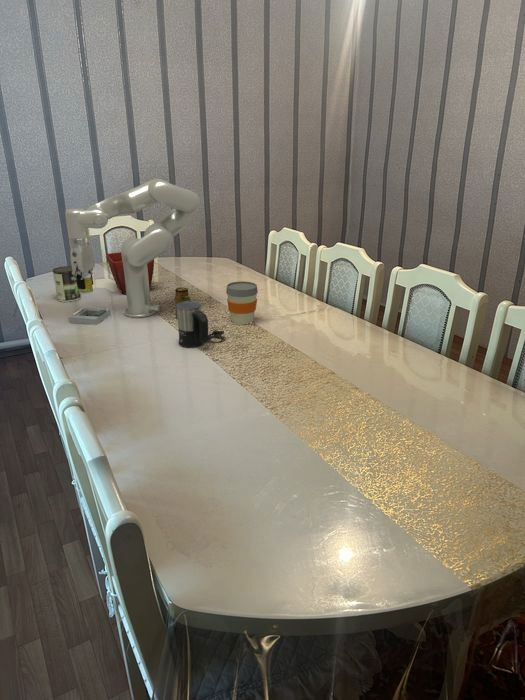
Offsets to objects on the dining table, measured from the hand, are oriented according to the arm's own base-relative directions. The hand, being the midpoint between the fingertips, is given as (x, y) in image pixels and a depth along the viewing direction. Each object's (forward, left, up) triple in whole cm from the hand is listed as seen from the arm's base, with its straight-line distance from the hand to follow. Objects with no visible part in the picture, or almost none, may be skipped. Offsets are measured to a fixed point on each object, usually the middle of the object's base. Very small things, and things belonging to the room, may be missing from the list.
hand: (85, 286), depth 208 cm
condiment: (-37, -10, -14) cm, 41 cm away
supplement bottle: (0, 0, -3) cm, 3 cm away
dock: (0, 0, -14) cm, 14 cm away
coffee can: (+23, -23, -14) cm, 35 cm away
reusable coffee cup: (-62, -10, -14) cm, 64 cm away
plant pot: (0, -42, -14) cm, 44 cm away
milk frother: (-52, +14, -14) cm, 56 cm away
